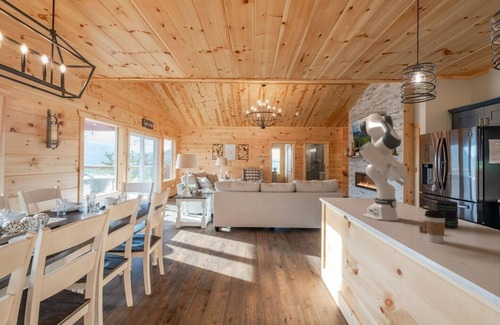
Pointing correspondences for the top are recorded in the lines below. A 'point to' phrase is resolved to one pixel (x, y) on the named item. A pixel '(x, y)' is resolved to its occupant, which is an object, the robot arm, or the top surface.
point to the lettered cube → (422, 226)
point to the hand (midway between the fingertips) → (406, 184)
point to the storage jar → (449, 213)
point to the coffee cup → (435, 225)
